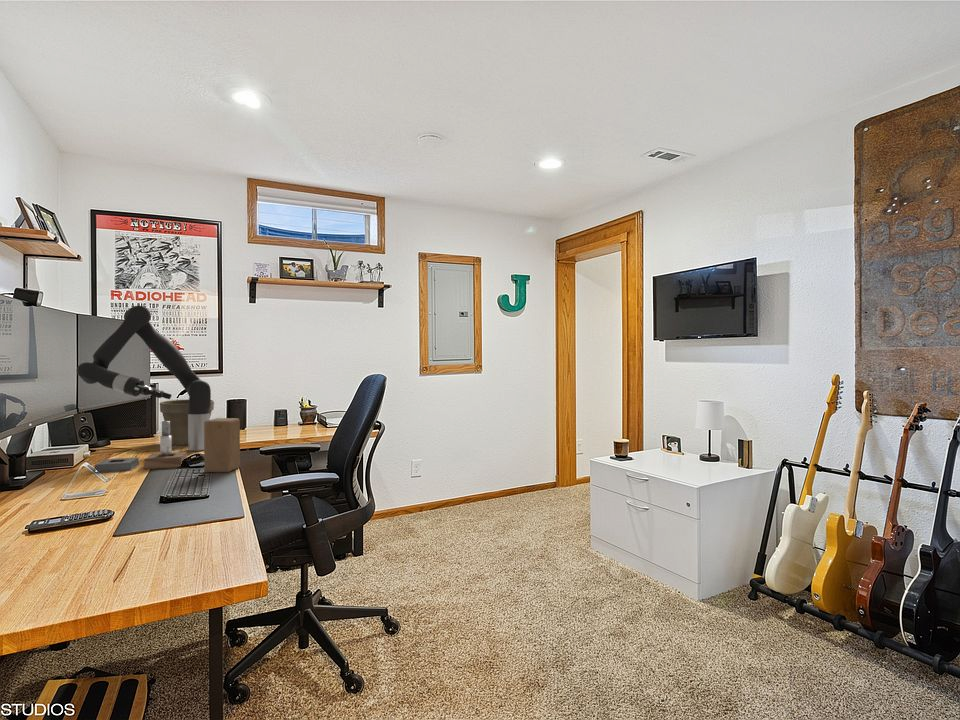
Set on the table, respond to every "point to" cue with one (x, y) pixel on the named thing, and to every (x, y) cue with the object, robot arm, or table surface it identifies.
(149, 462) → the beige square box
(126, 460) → the grey socket
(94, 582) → the table surface
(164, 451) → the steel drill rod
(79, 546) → the table surface
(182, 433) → the plant pot
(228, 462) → the wooden block
